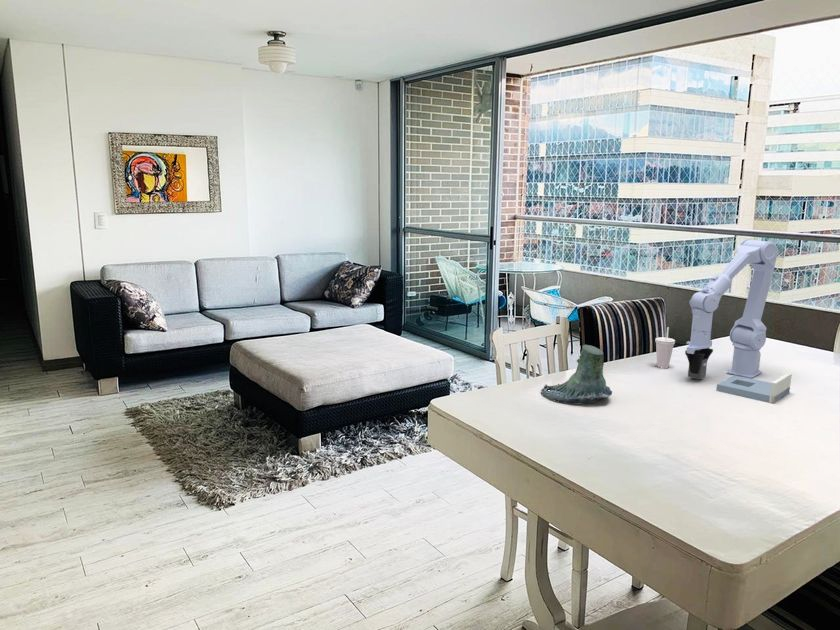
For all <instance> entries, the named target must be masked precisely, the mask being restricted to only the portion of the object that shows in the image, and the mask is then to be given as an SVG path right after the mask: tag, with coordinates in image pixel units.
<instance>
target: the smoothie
mask: <svg viewBox="0 0 840 630" xmlns="http://www.w3.org/2000/svg"><path fill="white" fill-rule="evenodd" d="M669 330H670V327H669V326H667V327H666V336H665V337H663V336H662V337H660V336H659V337H655V340H654V342H655V347H656V348H655V349H656V352H655V353H656V367H657V366H658V367H657V368H659V367H662V368H661V369H669V368H668V367H670V362H671V358H672V353H673V349H674V345H675V344H676V340H675V338H674V339H673V338H670V337H669Z"/></svg>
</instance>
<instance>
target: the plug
mask: <svg viewBox="0 0 840 630" xmlns="http://www.w3.org/2000/svg"><path fill="white" fill-rule="evenodd" d="M707 365H708V361H707V358H703V359H702V361H701V364H700V368H699V372H698V374H695V373H691V372H690V366H689V365H688V371H687V377H688V378H692V379H693V378H694V379H697V380H701V379H704V378H706V375H707Z"/></svg>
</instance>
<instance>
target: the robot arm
mask: <svg viewBox="0 0 840 630" xmlns="http://www.w3.org/2000/svg"><path fill="white" fill-rule="evenodd" d="M778 254H779V248H778V247H777V245H776V243H775V242H774V241H771V240H770V241H769V240H767V241H766V240H757V239H756V240H755V239H750V238H746V239H743V240H742V241H741V242H740V244H739V245H738V246H737V247H736V254H735V255H734V256H733V257H732V259H731V261H729V263H728V264H727V266H726V267H725V268H724V269H723V271H722V272H721V273H717V274H715V275H712V277H711V279H710V280H709V281H708V283H706V285H705V286H704V287H703V288H702V289H701V290H700V291H698V292H696V293H693V295H692V296H691V298H690V299H689V305H690V308H691V314H692V319H691V320H692V322H691V332H690V341H689V340H688V341H686V345H688V346H686V350H685V351H684V353H685V356H686V358H687V360H688V367H689V366H690V372H691V373H695V374H698V372H699V368H700V364H701V361H702V359H703V358H707V362H708V360H709V358H710V356H711V355H712V354H713V352H714V349H713V348H711V347H712V346H713V340H711V336H712V327H713V325H712V324H713V316H714V314H713V313H714V311H716V310H717V309H718V308H719V304H720V302H721V298H722V296H723V295H725V294H726V292H727V291H728V290H729V289H730V288H731V287H732V280H733V279H734V278H736V276H737V275H738V274H739V273H740V272H741V271H742V270H743V269H744V268H745V267H746V266H747V265H750V266H751V267H752V269H753V270H754V272H753V275H752V279H751V282H750V287H749V290H748V294H747V299H746V302H745V306H744V309H743V313H742V317H740V318H738V319H737V320H735V321H734V324H733V326H732V328H731V329H730V333H729V340H730V342H731V343H732V346H733V354H732V355H733V356H732V362H731V369H729V370H727V371H726V374H729V375H733V376H734V375H736V376H741V377H746V378H751V379H754V378H755V377H756V376H758V375H760V374H762V373H763V372H762V371H761V370H760V363H761V351H760V350H762V348H763V347H764V345H765V343H766V341H767V334H766V332H767V330H768V329H767V326H766V325H765V324H764V322H762V318H763V317H762V316H763V314H764V310H765V305H766V301H767V298H768V295H769V290H770V286H771V283H772V279H773V275H774V271H775V266H776V261H777V258H778Z"/></svg>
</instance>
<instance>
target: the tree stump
mask: <svg viewBox="0 0 840 630" xmlns="http://www.w3.org/2000/svg"><path fill="white" fill-rule="evenodd" d="M581 347H582V348H581V353H580V355H579V356H578V358H577V359H576V362H577V367H576V370H575V372H574V373H573V374H572V375H570V377H569V378H568V379H567V380H566V381H565V382H564V383H561V384H560V383H558V384H555V385H547V384H544V386H543V387H542V389H541V390H540V393H542V394H543V395H544V396H545V398H546V397H547V398H546V399H548V398H549V399H551V400H550V401H552V400H555V401H554V402H556V401H559V402H558V403H562V402H567V403H566V404H573V403H583V404H582V405H594V402H595V403H596V402H598V401H600V400H603V399H606V398H608V397H610V396H612V393H613V391H612V390H611V389H610V388H611V387H610V386H608V385H607V383H606V382H607V381H606V378H605V377H604V364H605V362H604V360H605V357H604V352H603V351H602V350H601V349H600V348H598V347H596V346H593V345H590V344H589V345H588V344H583V345H582V346H581ZM548 390H550V391H548ZM542 394H541V395H542ZM543 395H542V396H543ZM544 396H543V397H544ZM549 399H548V400H549ZM597 400H598V401H597Z"/></svg>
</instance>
